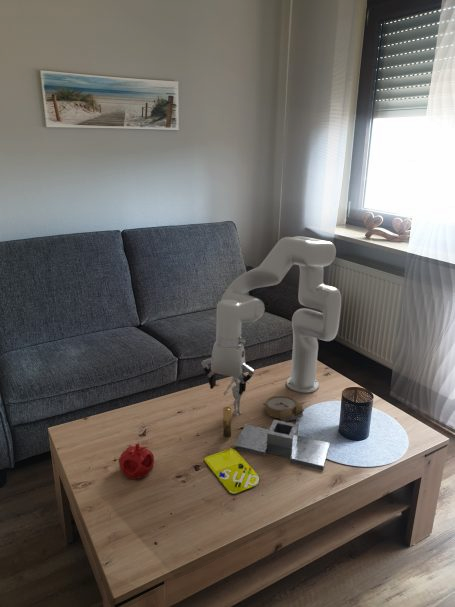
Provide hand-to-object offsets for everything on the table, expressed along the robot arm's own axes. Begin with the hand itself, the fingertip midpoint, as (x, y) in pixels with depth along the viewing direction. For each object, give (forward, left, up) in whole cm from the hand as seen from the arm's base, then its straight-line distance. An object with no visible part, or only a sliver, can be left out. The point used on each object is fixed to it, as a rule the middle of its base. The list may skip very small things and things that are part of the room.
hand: (227, 389), depth 152 cm
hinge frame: (0, +19, -17) cm, 25 cm away
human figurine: (-14, -1, -17) cm, 22 cm away
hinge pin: (0, 0, -17) cm, 17 cm away
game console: (+16, +8, -18) cm, 25 cm away
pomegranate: (+26, -18, -17) cm, 36 cm away
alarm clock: (-20, +15, -18) cm, 31 cm away
